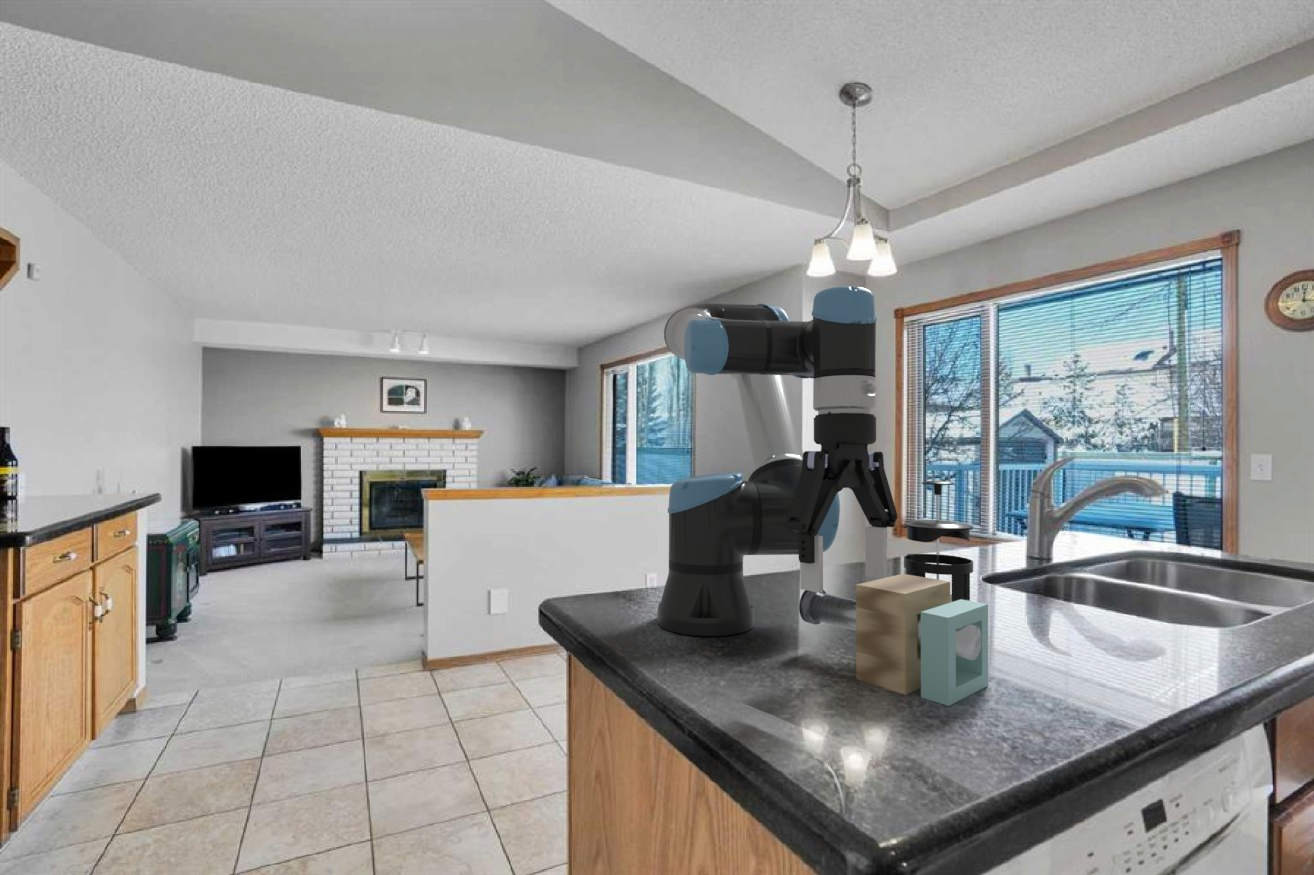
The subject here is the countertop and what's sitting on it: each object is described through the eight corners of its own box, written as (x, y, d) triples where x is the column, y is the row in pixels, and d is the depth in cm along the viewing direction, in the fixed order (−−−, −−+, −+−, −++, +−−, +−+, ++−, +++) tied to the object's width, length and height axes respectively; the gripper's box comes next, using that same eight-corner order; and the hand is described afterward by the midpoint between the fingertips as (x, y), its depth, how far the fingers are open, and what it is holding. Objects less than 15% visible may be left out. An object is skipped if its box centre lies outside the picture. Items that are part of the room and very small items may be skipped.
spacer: (920, 697, 69) (920, 611, 69) (961, 678, 75) (961, 599, 75) (948, 706, 66) (948, 617, 67) (988, 685, 72) (987, 604, 72)
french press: (994, 654, 87) (993, 482, 87) (930, 659, 85) (930, 483, 85) (939, 630, 99) (939, 478, 99) (883, 633, 97) (882, 478, 97)
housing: (856, 690, 74) (856, 584, 74) (902, 670, 81) (902, 573, 81) (905, 706, 70) (905, 593, 70) (950, 684, 76) (950, 581, 76)
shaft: (799, 625, 84) (799, 589, 84) (821, 619, 87) (821, 584, 87) (963, 669, 68) (963, 624, 68) (983, 660, 70) (983, 617, 71)
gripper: (806, 406, 71) (807, 603, 70) (923, 415, 87) (925, 575, 86) (754, 410, 77) (755, 591, 76) (873, 417, 92) (874, 568, 92)
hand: (845, 583), depth 81 cm, fingers open, 13 cm apart
